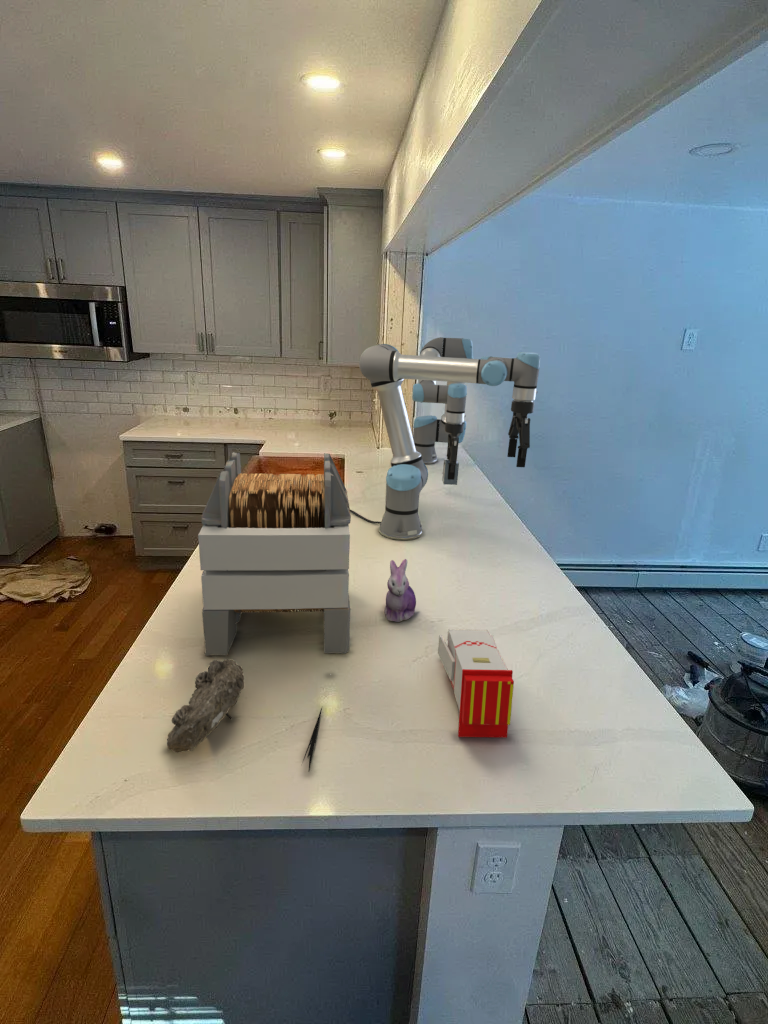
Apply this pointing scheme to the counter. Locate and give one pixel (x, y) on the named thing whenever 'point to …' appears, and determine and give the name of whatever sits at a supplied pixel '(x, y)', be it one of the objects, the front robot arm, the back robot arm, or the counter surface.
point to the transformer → (275, 551)
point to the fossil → (206, 705)
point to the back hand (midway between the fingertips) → (450, 476)
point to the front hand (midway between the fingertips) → (515, 461)
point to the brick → (445, 474)
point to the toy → (478, 682)
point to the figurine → (399, 594)
